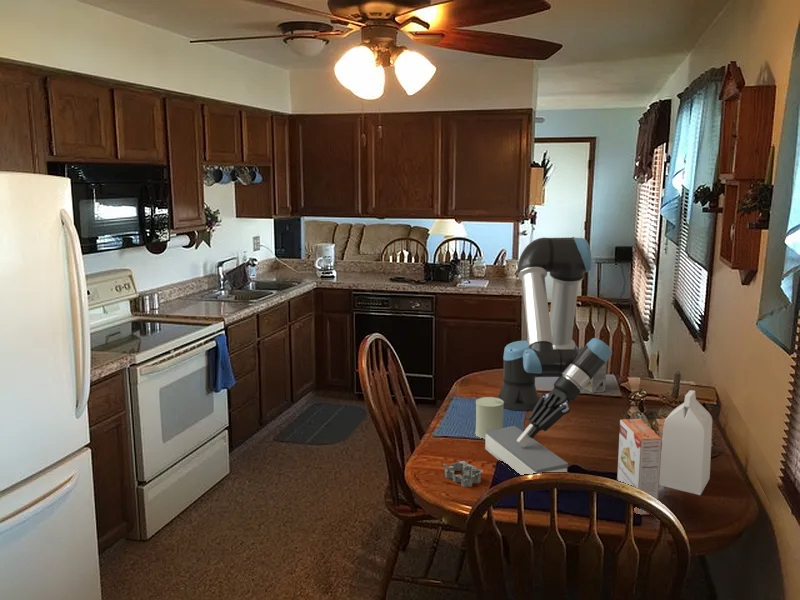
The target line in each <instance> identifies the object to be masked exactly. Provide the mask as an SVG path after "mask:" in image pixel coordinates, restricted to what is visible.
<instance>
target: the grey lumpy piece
mask: <svg viewBox="0 0 800 600" xmlns="http://www.w3.org/2000/svg"><path fill="white" fill-rule="evenodd" d="M442 466H444V467H445V468H444V478H446V479H452V482H454V483H460V485H461V487H463V488H465V487H468V488H471V487H473V484H480V483H481V482H482V481H481V480H482V479H481V478H482V476H481V474H482V473H483V472H484V470H483V469H480V468H478V467H476V466H475V465H472V464H469V463H468V462H466V461H465V460H460V461H458V462H456V461H455V462H454V463H451V464H450V466H449V465H448V464H445V463H442ZM455 472H462V474H455Z"/></svg>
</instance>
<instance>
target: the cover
mask: <svg viewBox="0 0 800 600" xmlns="http://www.w3.org/2000/svg"><path fill="white" fill-rule="evenodd" d="M523 431H524V430H522V429H521V428H519V427H517V425H516V426H515V425H510V426H506V427H503V428H499V429H494V430H489V431H486V434H487V435H488V436H490V437H491V438H492V439H494V440H495V441H496V442H497V443H499V444H500V445H501V446H502V447H504V448H505V449H506V450H508V451H509V452H510V453H511V454H513V455H514V456H515V457H516V458H518V459H519V460H520V461H521V462H523V463H524V464H525V465H527V466H528V467H529V468H530V469H532V470H533V471H534V472H535V473H542V472H546V471H551V470H556V469H560V468H565V467H566V468H569V463H568V462H567V461H565V460H564V459H562V457H560V456H559V455H557V454H555V453H554V452H553V451H551V450H550V449H548V448H547V447H545V446H544V445H542V444H541V443H540V442H539V441H537V440H536V439H534V438H532V439H531V440H530V442H529V443H528V444H527V445H526V446H525V448H524V447H523V446H522V445H521V444H520V443H518V442H517V441H516V440H517V439H518V438H519V437H520V435H521V434H522V433H523Z"/></svg>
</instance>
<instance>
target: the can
mask: <svg viewBox="0 0 800 600" xmlns="http://www.w3.org/2000/svg"><path fill="white" fill-rule="evenodd" d="M503 406H504V401H503V400H501V399H499V398H498V397H494V396H483V397H479V398H477V399H476V400H475V413H476V414H475V434H476V435H475V437H477V436H478V437H480V438H479V439H481V438H483V439H482V440H485V439H486V431H489V430H494V429H499V428H504V407H503ZM478 437H477V438H478Z"/></svg>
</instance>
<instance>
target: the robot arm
mask: <svg viewBox="0 0 800 600" xmlns="http://www.w3.org/2000/svg"><path fill="white" fill-rule="evenodd" d="M592 262H593V261H592V252H591V247H590V245H589V242H588V241H587V239H586V238H583V237H575V236H572V237H539V238H536V239H535V240H532V241H530V242H529V243H528V245H527V246H525V248H524V249H523V251H522V252H521V254H520V257H519V259H518V263H517V277H518V279H519V280H520V281H521V286H522V296H523V304H524V315H525V323H526V332H527V340H517V341H512V342H511V343H508V344H506V346H505V347H504V351H503V357H502V358H503V374H502V375H503V377H502V378H503V379H502V380H503V381H502V386H501V388H500V392H499V394H498V397H497V398H499V399H501V400H503V401H504V406H503V409H507V410H512V411H531V412H530V413H529V415H528V417H527V420H528V422H529V424H528V425H527V426H526V427H525V428H524V430H522V431H523V433H522V434H521V435H520V437H519V438H518V439H517V440H516V441H517V442H518V443H520V444H521V445H522V446H523V447H524V448H525V446H526V445H527V444H528V443H529V442H530V440H531V439H532V438H533V439H534V438H535V437H536V435H537V434H538V433H539V432H541V431H544V432H547V431H548V430H549V429H550V428H551V427H552V426H553V425H554V424H556V423H557V422H558V421H559V420H561V418H562V417H564V415H566V414H568V413H570V412H571V409H570V408H569V404H570V402H571V401H575V400H576V399H577V397H578V396H579V395H580V394H581V391H583V390H585V389H584V387H585V386H586V385H587V384H588V383H589V381H590V380H591V379H592V378H593V377H594V375H595V374H596V373H597V372H598V371H599V370H600V368H601V367H602V366H603V365H604V364H605V363H606V362H607V363H608V360H609V359H610V357H611V356H612V354H613V351H612V349H611V348H610V346H609V345H608V344H607V343H605V342H604V341H603V340H602V339H599V338H597V337H593V338H591V339H590V340H589V341H588V342H587V343H586V344H585V346H584V347H581V348H582V349H581V348H579V347H578V346H577V345H576V342H575V341H574V339H573V333H574V332H573V331H574V326H575V315H576V309H577V307H576V306H577V299H578V291H579V283H580V282H581V281H582V280H584V279H585V273H588V272H590V271H591V269H592V264H593V263H592ZM548 273H549V276H550V277H551V278H552V279H553V280H552V281H553V282H552V289H551V290H552V291H551V299H550V300H551V301H550V308H549V303H548V293H547V288H546V286H547V285H546V278H547V276H548ZM536 378H557V379H556V380H555V381H554V383H553V389H552V390H550V391H549V392H548V393H546V394H545V393H544V392H541V394H540V397H539V394H538V392H537V387H536Z"/></svg>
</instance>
